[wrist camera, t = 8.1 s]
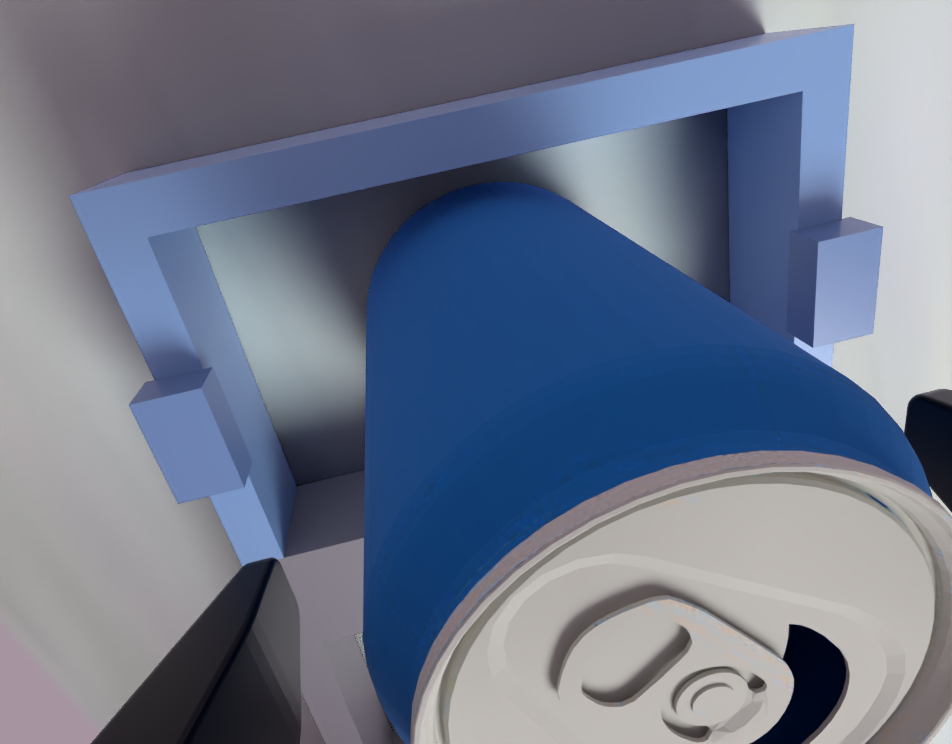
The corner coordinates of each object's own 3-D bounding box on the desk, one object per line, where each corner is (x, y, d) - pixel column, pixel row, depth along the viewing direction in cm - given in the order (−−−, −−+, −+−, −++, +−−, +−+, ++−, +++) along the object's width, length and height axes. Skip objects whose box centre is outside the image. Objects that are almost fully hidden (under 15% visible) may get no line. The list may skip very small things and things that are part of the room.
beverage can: (506, 450, 19) (691, 958, 8) (316, 331, 16) (214, 824, 6) (658, 278, 17) (1143, 621, 6) (472, 118, 15) (749, 236, 4)
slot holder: (765, 648, 24) (833, 749, 21) (366, 756, 23) (365, 879, 20) (775, 31, 15) (903, 17, 11) (116, 174, 14) (30, 208, 11)
